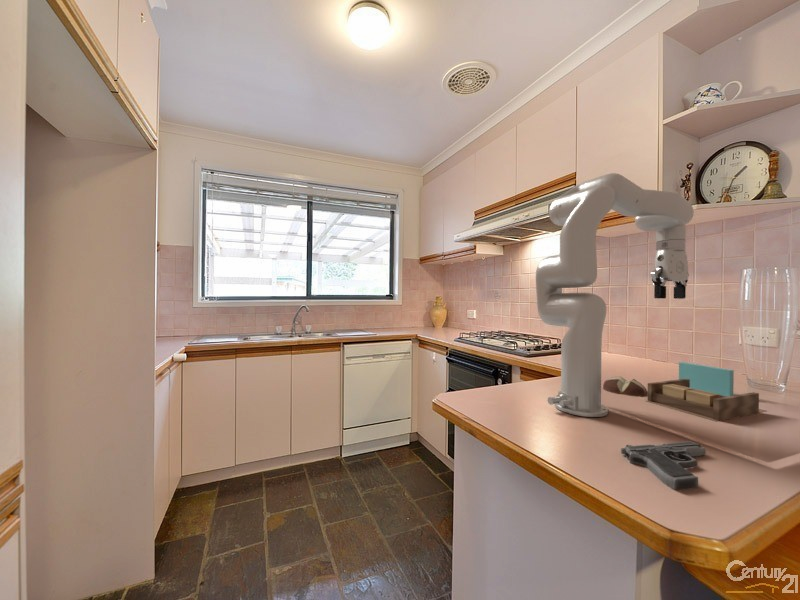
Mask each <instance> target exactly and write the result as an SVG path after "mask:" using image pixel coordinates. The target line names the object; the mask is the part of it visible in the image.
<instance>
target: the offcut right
mask: <svg viewBox="0 0 800 600" xmlns="http://www.w3.org/2000/svg"><path fill="white" fill-rule="evenodd" d="M715 398H720V394H715V393H711V392H706V391H702V390H697V389H693V390H686V400H687V401H690V402H694V403H698V404H702V405H706V406H710V407H713V399H715Z"/></svg>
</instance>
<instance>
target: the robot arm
mask: <svg viewBox="0 0 800 600" xmlns="http://www.w3.org/2000/svg"><path fill="white" fill-rule="evenodd" d="M611 210H612V211H614V212H616V213H618V215H621V216H624V217H633V218H634V223H635V225H636V228H638V229H639V230H640V231H643V232H655V258H654V269H653V271H651V272H650V276H651V277H650V278H651V281H652V283H653V285H652V286H653V288H654V289H653V290H654V294H653V295H654V299H666V298H667V286H666V284H667V282H673V285H674V286H673V299H679V300H680V299H686V296H687V295H686V293H687V292H686V291H687V289H686V287H687V285H688V284H687V283H688V280H689V276H690V274H689V265H688V256H687V255H688V254H687V252H686V242H687V241H686V237H687V235H686V234H687V233H686V229H687V228H686V227H687V226H686V225H687V224H689V223H690V222H691V221H692V219H693V217H694V208H693V205H692V204H691V202H689V201H688V200H687V199H686V198H685V197H684V196H682V195H681V194H679V193H677V192H676V193H675V192H673V191H672V192H671V191H667V190H666V191H664V190H656V189H646V188H644V189H643V188H642V187H641V186H639V185H637V184H635V182H633V181H631V180H629V179H628V178H627V177H625V176H623V174H619V173H616V172H614V173H613V172H611V173H607V174H603V175H600V176H598V177H595V178H592V179H588V180H586V181H583V182H581V183H579V184H577V185H575V186H573V187H572V188H571V189H568V190H567V191H565V192H564V193H563V194H561V195H559V196H558V197H556V198H555V199H554V200H553V201H552V202H551V204H550V205H549V209H548V216H549V219H550V221H551V222H552V223H553V224H554V225H556V226H557V227H558V226H559V227H562V228H561V230H560V234H559V235H560V236H559V254H558V255H557V254H556V255H549V256H547V257H544V258H542V260H540V262H539V263H538V265H537V267H536V270H535V287H536V288H535V291H536V306H537V312H538V316H539V318H540V320H541V321H542V323H544V324H546V325H549V326H554V327H556V326H557V327H564V328H565V327H568V330H567V331H566V333H565V334H564V336H563V337H562V340H561V345H560V347H561V348H560V351H561V352H560V353H561V355H560V356H561V357H560V390H559V391H558V392H557V395H556V396H549V397H547V403H548V404H549V405H551V406H552V405H554V406H555V408H556V409H557V410H560V411H561V412H563V413H567V414H570V415H573V416H574V415H575V416H580V417H584V418H586V417H588V418H598V417H599V418H601V417H605V416H606V417H607V415H608V414H609V409H608V408H607V407H606V405H604V404H602V343H603V342H602V341H603V340H602V339H603V333H604V332H603V331H604V325H605V319H606V317H607V305H606V302H605V300H604V299H603V298H602V297H601V296H599V294H595V293H590V292H563V289H576V288H577V289H579V288H587V287H590V286H592V285H593V284H595V282H596V280H597V278H598V259H597V257H598V256H597V255H598V254H597V239H596V238H597V231H598V229H599V226H600V223H602V221H603V219H604V218H605V217H606V216H607V215H608V213H609V212H611Z"/></svg>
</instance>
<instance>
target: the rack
mask: <svg viewBox="0 0 800 600" xmlns="http://www.w3.org/2000/svg"><path fill="white" fill-rule="evenodd" d="M667 384H675V385H679V386H684V387H688V388H690V379H679V378H678V379H673V380H672V379H671V380H663V381H654V382H648V383H647V399H646V400H645V402H647V403H650V404H654V405H656V406H660V407H664V408H667V409H670V410H674V411H678V412H681V413H683V414H684V413H685V414H688V415H691V416H695V417H699V418H701V419H704V420H705V419H706V420H709V421H712V422H716V423H717V422H721V421H725V420H726V421H727V420H731V419H735V418H740V417H746V416H751V415H755V414H759V413H764V412H767V410H764V409H761V408H759V407H760V393H759V392H756V391H755V392H754V391H752V392H747V393H741V394H735V395H734V394H733V396H723V395H720V398H715V399H713V407H710V406H706V405H702V404H698V403H694V402H690V401H687V400H683V399H679V398H675V397H671V396H667V395H663V385H667Z"/></svg>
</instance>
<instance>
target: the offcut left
mask: <svg viewBox="0 0 800 600" xmlns="http://www.w3.org/2000/svg"><path fill="white" fill-rule="evenodd" d="M686 390H693V388H688V387H684V386H679V385H675V384H667V385H663V395H667V396H671V397H675V398H679V399H683V400H686Z"/></svg>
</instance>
